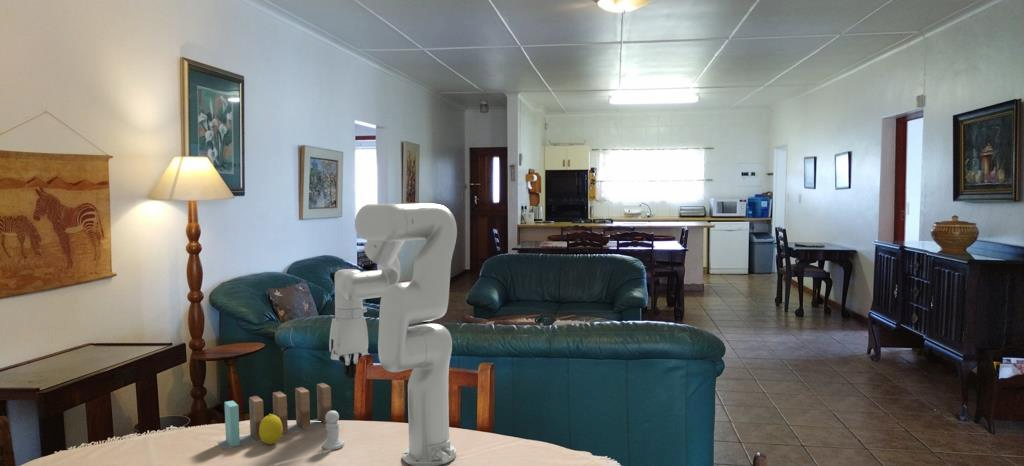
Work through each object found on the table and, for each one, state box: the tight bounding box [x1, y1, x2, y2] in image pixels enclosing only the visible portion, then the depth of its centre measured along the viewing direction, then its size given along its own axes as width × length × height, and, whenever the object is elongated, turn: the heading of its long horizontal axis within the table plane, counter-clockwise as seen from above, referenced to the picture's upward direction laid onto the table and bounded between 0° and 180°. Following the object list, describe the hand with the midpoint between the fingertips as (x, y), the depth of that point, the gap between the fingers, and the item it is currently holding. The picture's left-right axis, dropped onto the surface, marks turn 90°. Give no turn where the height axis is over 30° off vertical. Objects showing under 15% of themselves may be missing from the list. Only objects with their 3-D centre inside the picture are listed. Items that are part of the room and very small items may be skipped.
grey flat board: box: [216, 418, 326, 450], centre depth 168 cm, size 6×28×1 cm, turn 128°
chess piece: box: [322, 409, 345, 451], centre depth 159 cm, size 5×5×9 cm
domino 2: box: [272, 390, 289, 436], centre depth 169 cm, size 5×2×10 cm, turn 38°
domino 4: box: [316, 382, 332, 424], centre depth 176 cm, size 5×2×10 cm, turn 38°
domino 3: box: [294, 386, 311, 431], centre depth 172 cm, size 5×2×10 cm, turn 38°
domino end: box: [224, 400, 241, 448], centre depth 161 cm, size 5×2×10 cm, turn 38°
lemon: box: [259, 413, 283, 446], centre depth 160 cm, size 6×6×8 cm
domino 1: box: [248, 395, 265, 442], centre depth 165 cm, size 5×2×10 cm, turn 38°
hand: (349, 377), depth 181 cm, fingers closed
